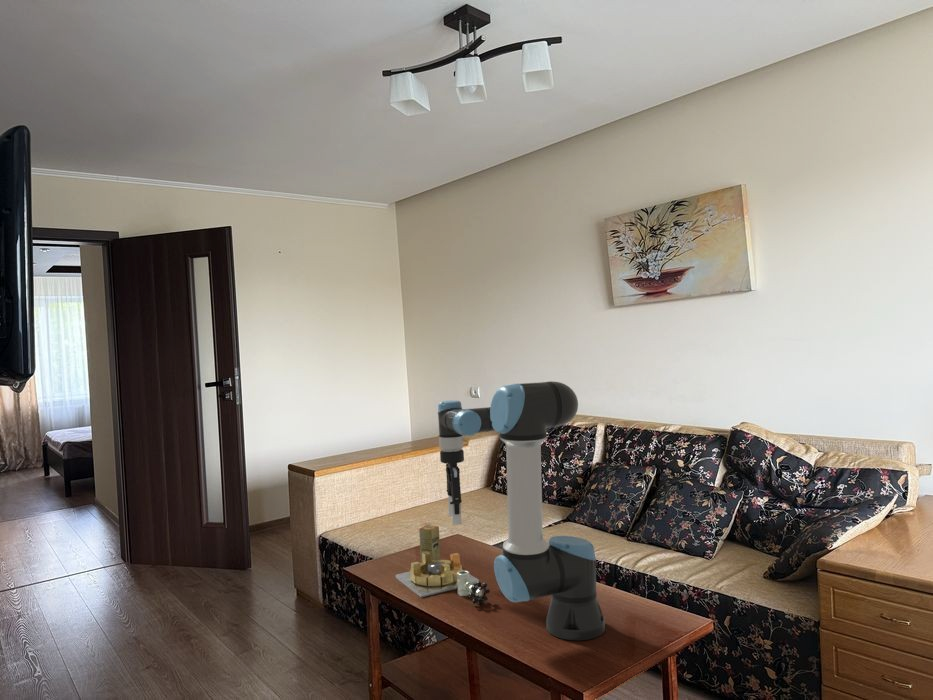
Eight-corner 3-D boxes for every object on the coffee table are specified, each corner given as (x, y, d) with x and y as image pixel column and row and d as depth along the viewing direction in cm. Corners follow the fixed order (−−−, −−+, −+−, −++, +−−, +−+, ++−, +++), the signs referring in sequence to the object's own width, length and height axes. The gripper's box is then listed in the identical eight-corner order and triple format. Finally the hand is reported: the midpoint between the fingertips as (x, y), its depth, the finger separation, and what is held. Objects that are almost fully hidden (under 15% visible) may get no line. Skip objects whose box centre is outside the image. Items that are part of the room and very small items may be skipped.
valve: (451, 594, 194) (470, 607, 183) (450, 572, 194) (469, 584, 183) (470, 589, 197) (490, 602, 187) (469, 568, 197) (489, 579, 186)
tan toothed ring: (471, 578, 202) (470, 560, 202) (423, 590, 195) (423, 571, 195) (447, 563, 217) (446, 547, 217) (402, 574, 209) (401, 556, 209)
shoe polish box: (420, 563, 223) (419, 528, 222) (428, 558, 227) (426, 525, 227) (433, 565, 220) (431, 530, 220) (440, 560, 224) (438, 526, 224)
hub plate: (479, 583, 202) (478, 567, 202) (421, 597, 192) (420, 580, 192) (450, 565, 219) (449, 550, 219) (395, 577, 210) (394, 562, 210)
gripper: (468, 454, 194) (472, 528, 194) (458, 443, 215) (461, 510, 215) (443, 455, 193) (447, 530, 193) (436, 445, 214) (439, 512, 214)
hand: (455, 520), depth 204 cm, fingers open, 9 cm apart
